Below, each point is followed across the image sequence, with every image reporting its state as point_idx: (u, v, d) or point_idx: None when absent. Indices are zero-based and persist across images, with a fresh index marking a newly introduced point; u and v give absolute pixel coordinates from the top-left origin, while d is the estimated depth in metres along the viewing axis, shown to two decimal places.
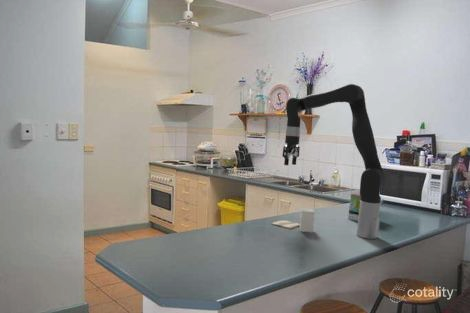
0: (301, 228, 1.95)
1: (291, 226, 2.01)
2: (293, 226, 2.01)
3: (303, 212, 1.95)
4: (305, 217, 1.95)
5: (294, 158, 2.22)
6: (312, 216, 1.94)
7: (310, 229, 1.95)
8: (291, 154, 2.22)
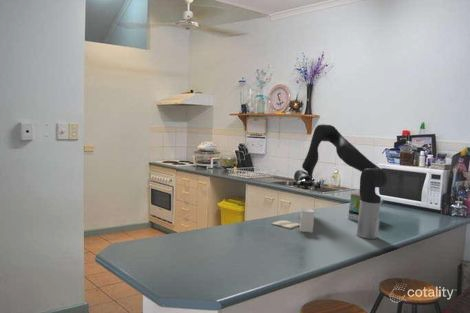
0: (301, 228, 1.95)
1: (291, 226, 2.01)
2: (293, 226, 2.01)
3: (303, 212, 1.95)
4: (305, 217, 1.95)
5: (314, 185, 2.10)
6: (312, 216, 1.94)
7: (310, 229, 1.95)
8: (312, 187, 2.13)
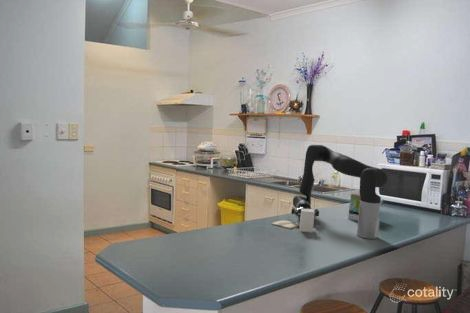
0: (301, 228, 1.95)
1: (291, 226, 2.01)
2: (293, 226, 2.01)
3: (303, 212, 1.95)
4: (305, 217, 1.95)
5: None
6: (312, 216, 1.94)
7: (310, 229, 1.95)
8: None
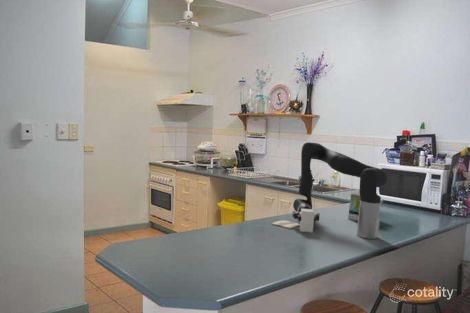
0: (301, 228, 1.95)
1: (291, 226, 2.01)
2: (293, 226, 2.01)
3: (303, 212, 1.95)
4: (305, 217, 1.95)
5: None
6: (312, 216, 1.94)
7: (310, 229, 1.95)
8: None
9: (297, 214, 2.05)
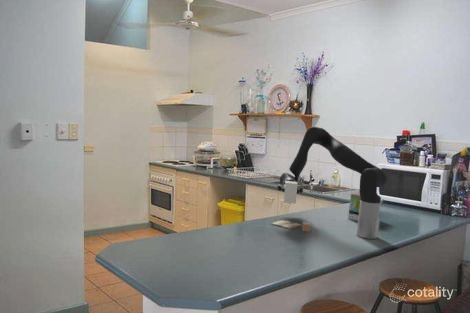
0: (284, 199, 2.02)
1: (291, 226, 2.01)
2: (293, 226, 2.01)
3: (286, 184, 2.01)
4: (288, 189, 2.01)
5: None
6: (295, 188, 2.01)
7: (293, 200, 2.01)
8: None
9: (281, 187, 2.11)
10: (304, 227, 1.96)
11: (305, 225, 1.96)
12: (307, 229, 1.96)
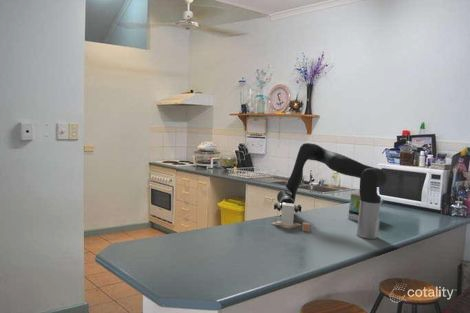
0: (282, 221, 2.03)
1: (291, 226, 2.01)
2: (293, 226, 2.01)
3: (283, 206, 2.02)
4: (285, 211, 2.02)
5: (295, 209, 2.06)
6: (292, 210, 2.02)
7: (290, 222, 2.03)
8: None
9: None
10: (304, 227, 1.96)
11: (305, 225, 1.96)
12: (307, 229, 1.96)
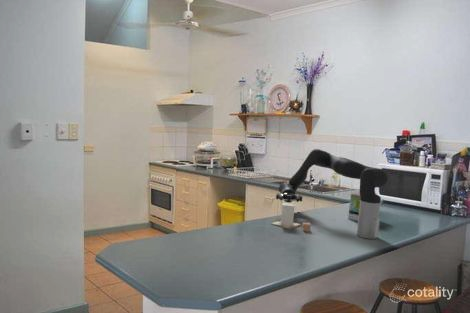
0: (282, 221, 2.03)
1: (291, 226, 2.01)
2: (293, 226, 2.01)
3: (283, 206, 2.02)
4: (285, 211, 2.02)
5: (296, 198, 2.19)
6: (292, 210, 2.02)
7: (290, 222, 2.03)
8: (294, 200, 2.21)
9: (280, 196, 2.25)
10: (304, 227, 1.96)
11: (305, 225, 1.96)
12: (307, 229, 1.96)
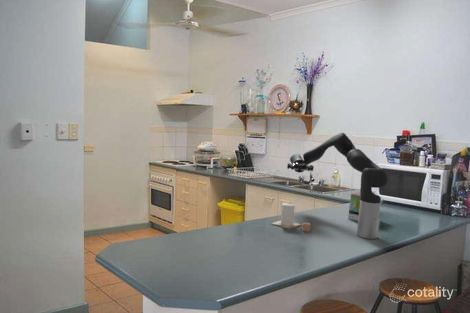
0: (282, 221, 2.03)
1: (291, 226, 2.01)
2: (293, 226, 2.01)
3: (283, 206, 2.02)
4: (285, 211, 2.02)
5: (307, 168, 2.20)
6: (292, 210, 2.02)
7: (290, 222, 2.03)
8: (305, 170, 2.22)
9: None
10: (304, 227, 1.96)
11: (305, 225, 1.96)
12: (307, 229, 1.96)
